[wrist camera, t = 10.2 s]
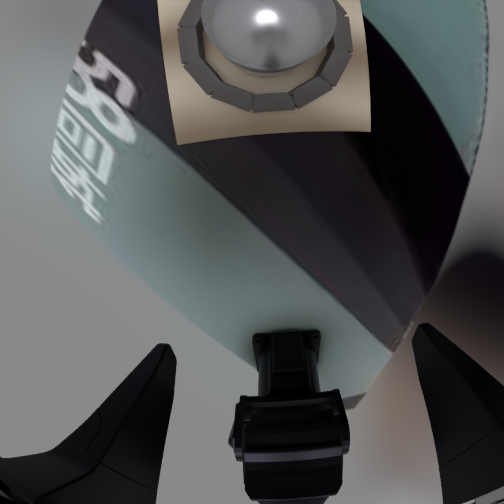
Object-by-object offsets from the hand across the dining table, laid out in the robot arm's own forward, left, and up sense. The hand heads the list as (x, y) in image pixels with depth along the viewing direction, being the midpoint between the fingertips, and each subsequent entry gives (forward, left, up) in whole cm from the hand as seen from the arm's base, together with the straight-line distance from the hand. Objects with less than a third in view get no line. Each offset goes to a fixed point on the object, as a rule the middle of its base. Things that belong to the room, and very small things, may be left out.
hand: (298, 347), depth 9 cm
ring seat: (+11, 0, -12) cm, 16 cm away
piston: (+11, 0, -11) cm, 16 cm away
